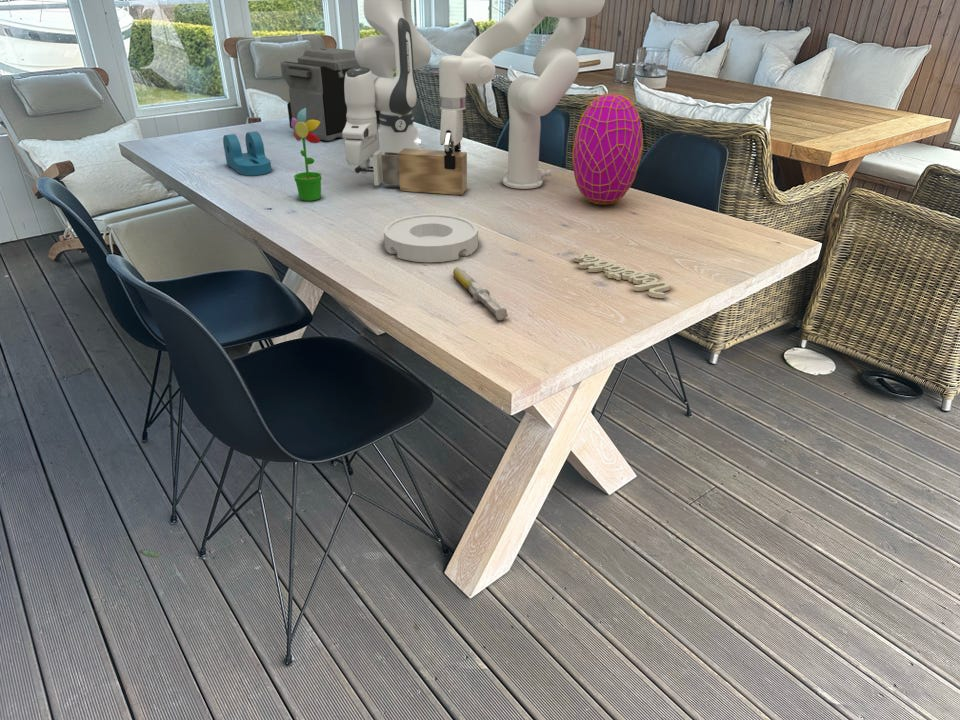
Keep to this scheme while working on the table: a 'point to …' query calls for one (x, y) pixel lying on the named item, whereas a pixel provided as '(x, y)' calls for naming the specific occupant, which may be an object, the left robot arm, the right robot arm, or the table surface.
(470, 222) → the ashtray
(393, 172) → the drawer
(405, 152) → the tan elongated box
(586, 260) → the decorative sign
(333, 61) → the electronic device
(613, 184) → the decorative egg
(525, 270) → the table surface
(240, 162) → the camera mount
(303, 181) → the potted flower
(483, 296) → the syringe
